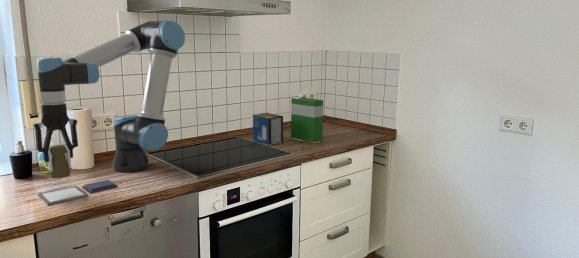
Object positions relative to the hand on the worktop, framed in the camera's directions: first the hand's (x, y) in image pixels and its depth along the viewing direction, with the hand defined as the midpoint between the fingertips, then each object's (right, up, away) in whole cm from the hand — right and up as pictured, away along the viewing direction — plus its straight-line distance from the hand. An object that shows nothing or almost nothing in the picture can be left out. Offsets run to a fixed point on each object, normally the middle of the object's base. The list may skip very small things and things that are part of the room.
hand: (59, 168), depth 147 cm
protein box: (+69, +6, +89) cm, 113 cm away
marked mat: (0, -10, +2) cm, 10 cm away
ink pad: (+9, -8, +11) cm, 17 cm away
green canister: (+91, +7, +94) cm, 131 cm away
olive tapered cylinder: (0, -3, +1) cm, 3 cm away
